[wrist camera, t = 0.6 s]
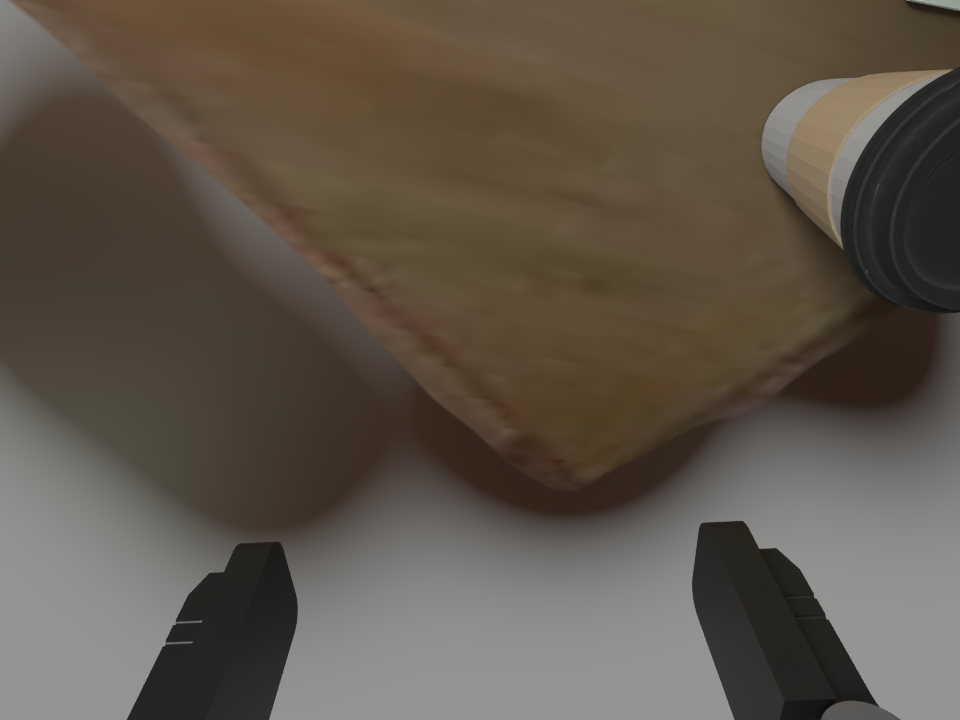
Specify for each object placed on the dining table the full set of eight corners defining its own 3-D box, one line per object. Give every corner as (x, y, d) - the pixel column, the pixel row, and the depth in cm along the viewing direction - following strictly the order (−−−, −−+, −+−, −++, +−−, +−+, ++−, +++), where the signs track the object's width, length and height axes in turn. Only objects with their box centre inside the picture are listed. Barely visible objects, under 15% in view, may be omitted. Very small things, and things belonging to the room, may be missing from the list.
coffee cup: (934, 132, 36) (1203, 200, 23) (789, 253, 39) (950, 374, 26) (839, -2, 33) (1084, -15, 20) (690, 141, 36) (815, 213, 23)
